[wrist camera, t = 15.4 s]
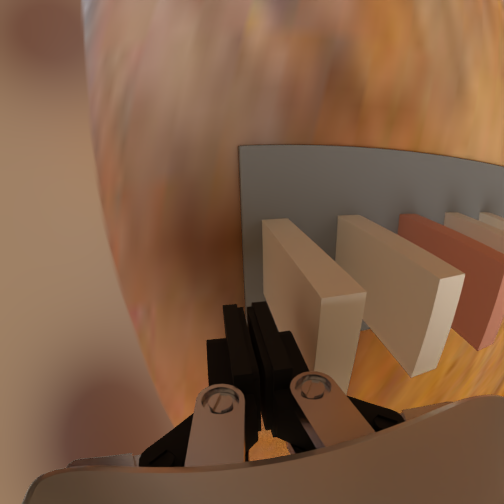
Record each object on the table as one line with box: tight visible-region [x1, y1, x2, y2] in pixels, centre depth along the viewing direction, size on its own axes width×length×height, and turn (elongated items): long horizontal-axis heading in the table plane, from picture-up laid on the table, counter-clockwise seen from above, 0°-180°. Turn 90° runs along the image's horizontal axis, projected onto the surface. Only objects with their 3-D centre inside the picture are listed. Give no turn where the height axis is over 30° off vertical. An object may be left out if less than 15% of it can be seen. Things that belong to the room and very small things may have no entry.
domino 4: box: [397, 214, 504, 351], centre depth 16 cm, size 5×2×10 cm, turn 1°
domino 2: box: [335, 215, 465, 377], centre depth 15 cm, size 5×2×10 cm, turn 2°
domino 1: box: [262, 218, 367, 395], centre depth 15 cm, size 5×2×10 cm, turn 2°
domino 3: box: [444, 212, 504, 254], centre depth 17 cm, size 5×2×10 cm, turn 2°
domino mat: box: [238, 145, 504, 332], centre depth 22 cm, size 14×34×1 cm, turn 92°
